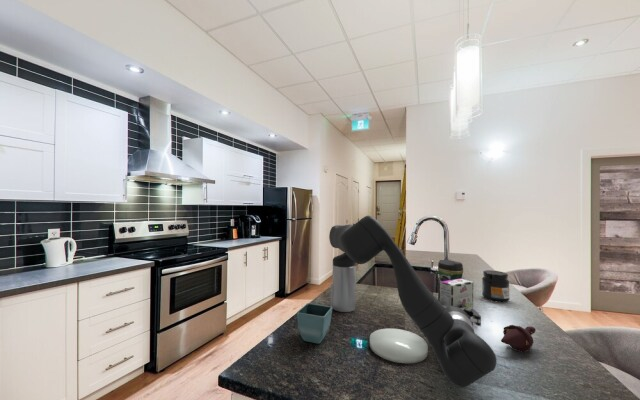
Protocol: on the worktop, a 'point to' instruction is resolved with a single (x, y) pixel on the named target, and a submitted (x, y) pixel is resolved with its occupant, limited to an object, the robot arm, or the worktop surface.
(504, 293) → the supplement container
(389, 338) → the plate
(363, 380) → the worktop surface
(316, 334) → the flower pot
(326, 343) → the worktop surface
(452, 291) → the candy bar box
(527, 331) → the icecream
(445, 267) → the coffee jar
